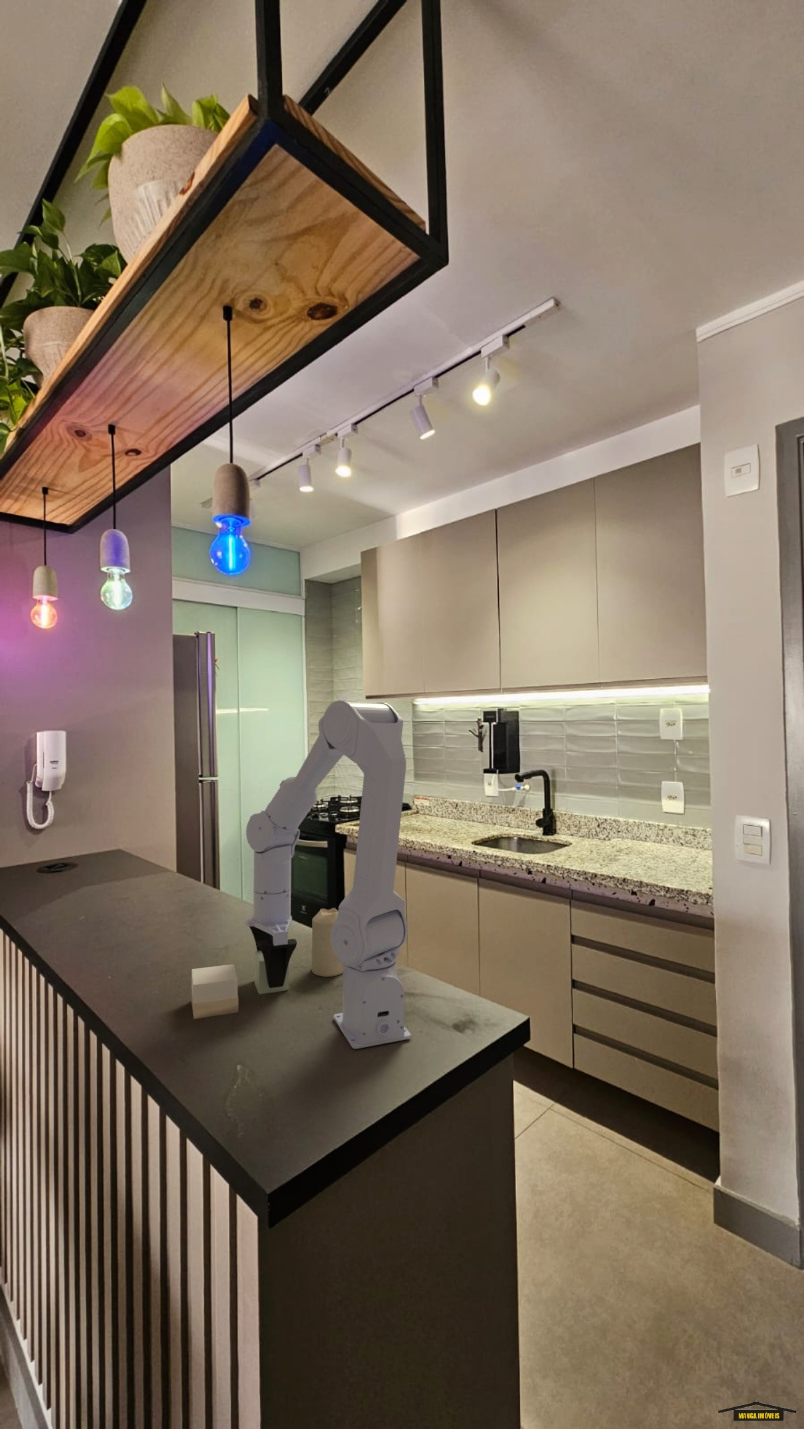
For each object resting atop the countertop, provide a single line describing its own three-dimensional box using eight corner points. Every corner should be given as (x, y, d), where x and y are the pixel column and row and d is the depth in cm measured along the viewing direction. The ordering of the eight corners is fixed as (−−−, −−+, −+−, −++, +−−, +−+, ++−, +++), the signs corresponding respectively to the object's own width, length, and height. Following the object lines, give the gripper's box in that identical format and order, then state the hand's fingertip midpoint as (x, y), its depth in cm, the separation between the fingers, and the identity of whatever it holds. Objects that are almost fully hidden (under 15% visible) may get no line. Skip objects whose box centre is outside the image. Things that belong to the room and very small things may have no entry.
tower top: (237, 997, 90) (237, 979, 90) (193, 1003, 88) (193, 985, 88) (233, 980, 95) (233, 964, 96) (191, 986, 93) (191, 969, 93)
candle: (305, 973, 104) (305, 912, 104) (324, 962, 109) (324, 903, 109) (333, 979, 101) (333, 916, 102) (351, 968, 106) (352, 908, 106)
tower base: (238, 1014, 90) (238, 997, 90) (193, 1021, 88) (194, 1003, 88) (233, 997, 95) (233, 981, 95) (191, 1004, 93) (191, 986, 93)
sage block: (288, 990, 97) (288, 957, 97) (259, 994, 96) (259, 961, 96) (282, 979, 102) (283, 948, 102) (254, 983, 100) (254, 951, 100)
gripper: (240, 881, 104) (239, 964, 104) (253, 904, 91) (252, 999, 90) (282, 877, 107) (281, 958, 107) (301, 899, 93) (301, 992, 93)
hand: (271, 977), depth 99 cm, fingers open, 7 cm apart
